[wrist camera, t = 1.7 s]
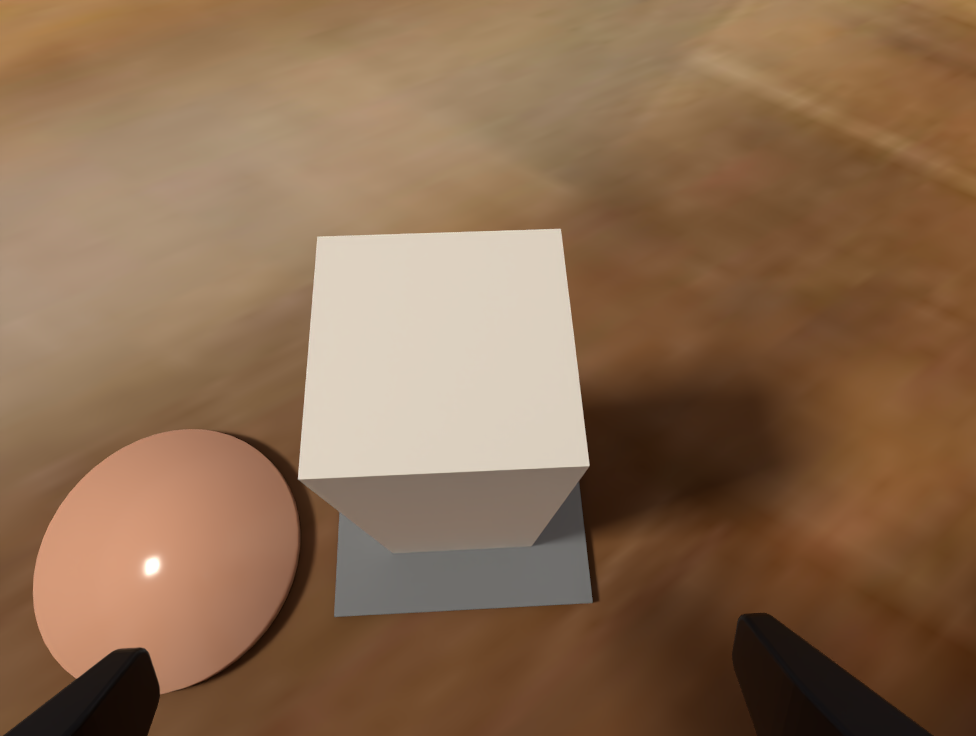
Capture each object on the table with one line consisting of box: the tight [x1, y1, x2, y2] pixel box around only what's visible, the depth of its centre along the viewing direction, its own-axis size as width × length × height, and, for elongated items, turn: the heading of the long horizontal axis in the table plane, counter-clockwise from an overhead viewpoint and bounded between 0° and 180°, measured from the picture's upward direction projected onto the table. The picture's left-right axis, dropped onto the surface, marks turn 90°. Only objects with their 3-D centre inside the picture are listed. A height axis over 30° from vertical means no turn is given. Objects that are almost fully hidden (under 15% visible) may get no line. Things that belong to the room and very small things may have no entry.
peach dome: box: [33, 429, 301, 694], centre depth 21 cm, size 9×9×1 cm
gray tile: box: [334, 481, 593, 617], centre depth 22 cm, size 9×9×1 cm
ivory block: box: [298, 229, 590, 553], centre depth 16 cm, size 5×5×12 cm
